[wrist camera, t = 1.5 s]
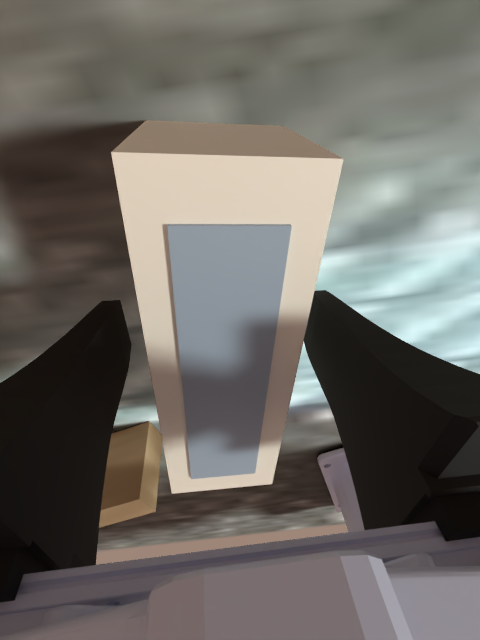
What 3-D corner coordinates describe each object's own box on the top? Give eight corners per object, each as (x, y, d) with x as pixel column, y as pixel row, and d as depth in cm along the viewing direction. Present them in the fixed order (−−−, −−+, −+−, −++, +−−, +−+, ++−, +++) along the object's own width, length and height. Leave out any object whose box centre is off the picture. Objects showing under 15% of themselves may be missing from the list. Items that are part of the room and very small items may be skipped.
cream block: (253, 388, 17) (272, 486, 13) (177, 393, 16) (171, 496, 12) (282, 125, 10) (345, 160, 6) (146, 119, 9) (109, 153, 5)
